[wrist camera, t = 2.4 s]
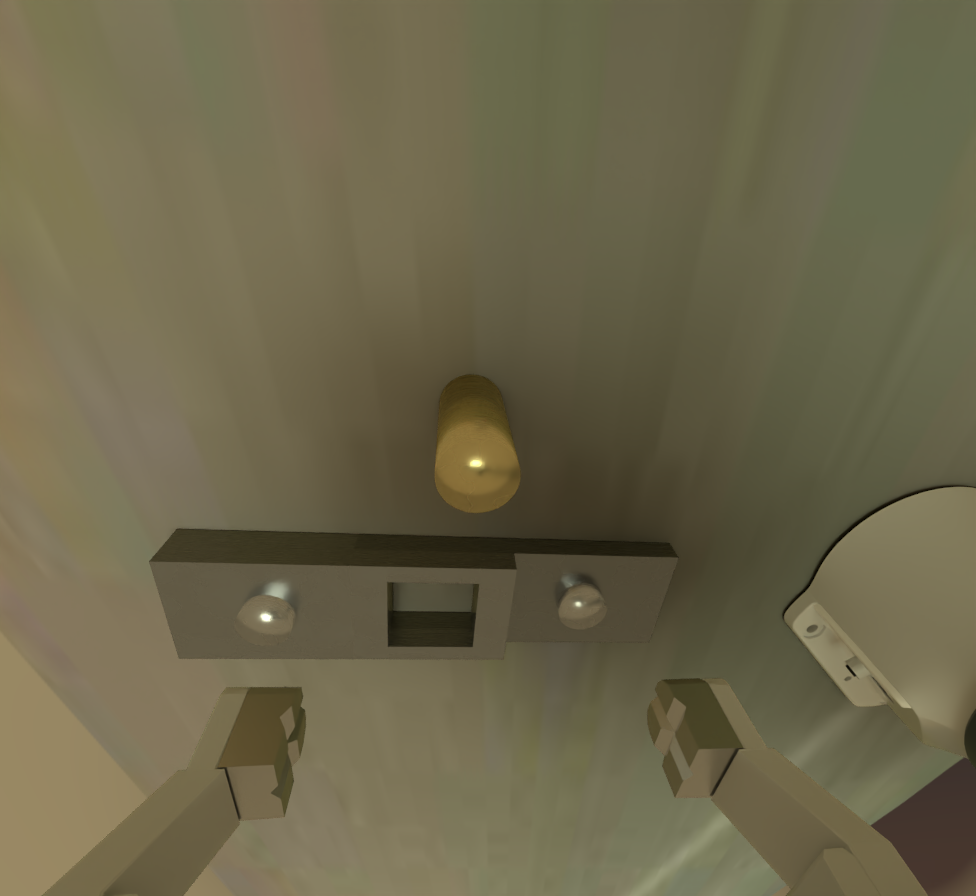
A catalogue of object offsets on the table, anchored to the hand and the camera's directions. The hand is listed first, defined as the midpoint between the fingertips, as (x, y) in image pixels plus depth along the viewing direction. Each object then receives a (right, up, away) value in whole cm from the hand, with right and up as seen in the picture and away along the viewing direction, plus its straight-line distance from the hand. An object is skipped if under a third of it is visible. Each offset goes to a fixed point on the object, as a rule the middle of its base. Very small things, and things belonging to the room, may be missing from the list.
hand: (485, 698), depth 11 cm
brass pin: (-1, +8, +16) cm, 18 cm away
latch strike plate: (-4, -4, +22) cm, 22 cm away
